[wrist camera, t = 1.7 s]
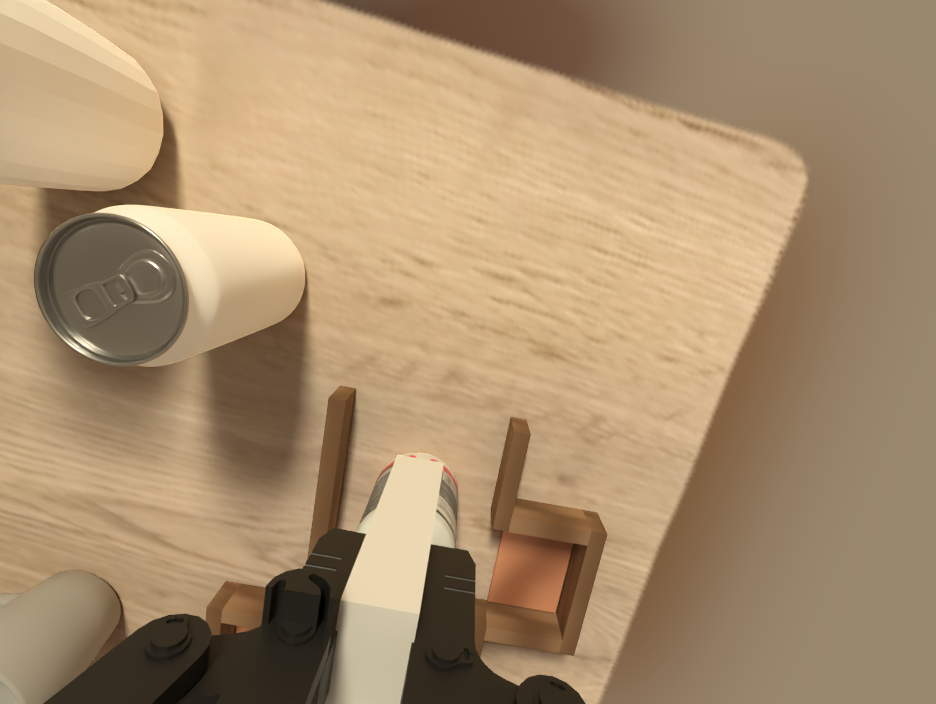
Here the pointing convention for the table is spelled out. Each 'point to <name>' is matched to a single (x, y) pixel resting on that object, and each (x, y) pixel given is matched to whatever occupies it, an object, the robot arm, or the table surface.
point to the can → (163, 282)
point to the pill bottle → (445, 507)
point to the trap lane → (517, 565)
